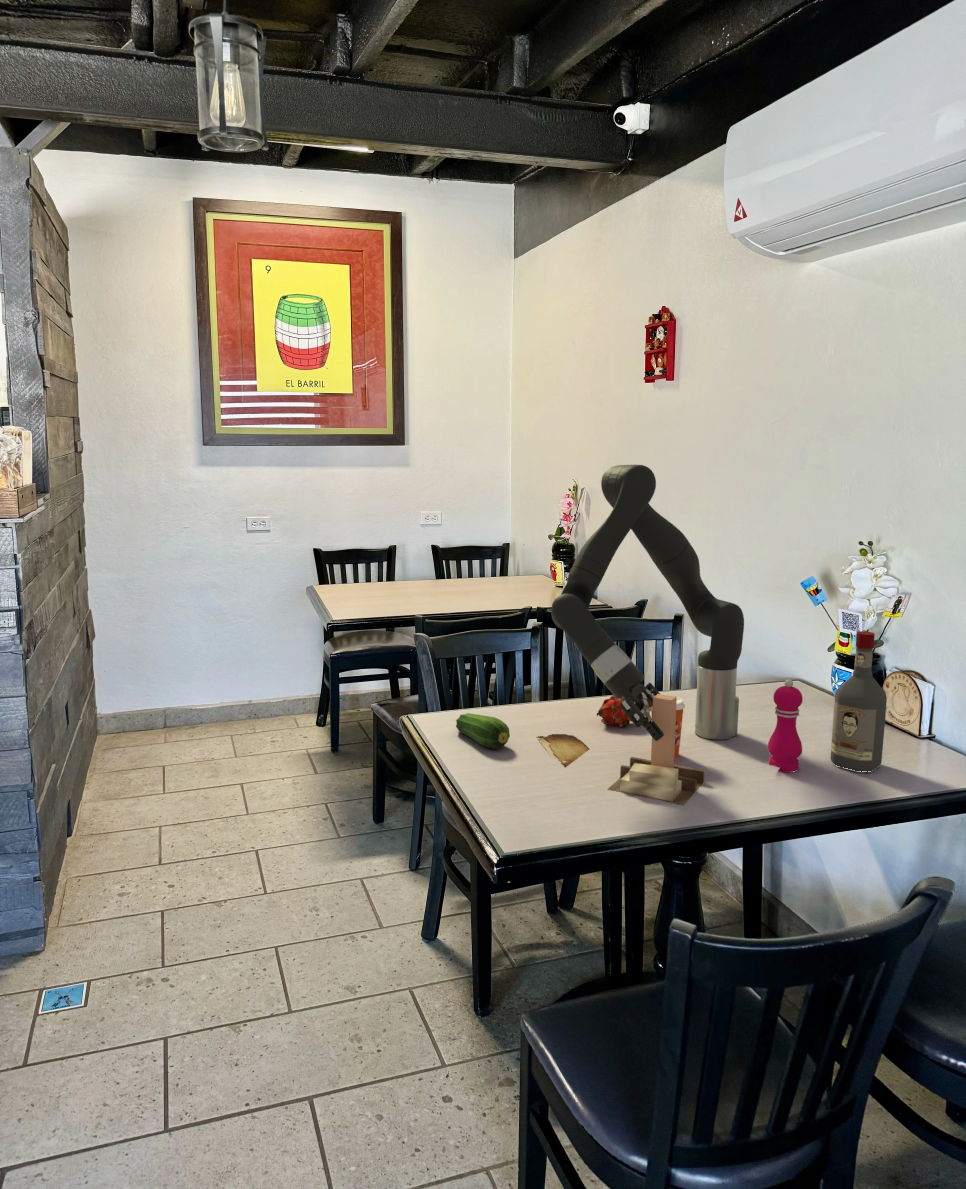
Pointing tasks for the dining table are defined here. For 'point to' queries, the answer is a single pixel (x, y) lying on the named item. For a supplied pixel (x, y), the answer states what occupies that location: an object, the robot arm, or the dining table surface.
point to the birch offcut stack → (652, 781)
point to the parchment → (563, 747)
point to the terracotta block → (664, 730)
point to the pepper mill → (786, 729)
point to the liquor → (859, 713)
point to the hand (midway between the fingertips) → (667, 732)
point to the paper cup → (678, 725)
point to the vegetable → (484, 729)
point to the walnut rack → (687, 775)
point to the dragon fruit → (613, 712)
